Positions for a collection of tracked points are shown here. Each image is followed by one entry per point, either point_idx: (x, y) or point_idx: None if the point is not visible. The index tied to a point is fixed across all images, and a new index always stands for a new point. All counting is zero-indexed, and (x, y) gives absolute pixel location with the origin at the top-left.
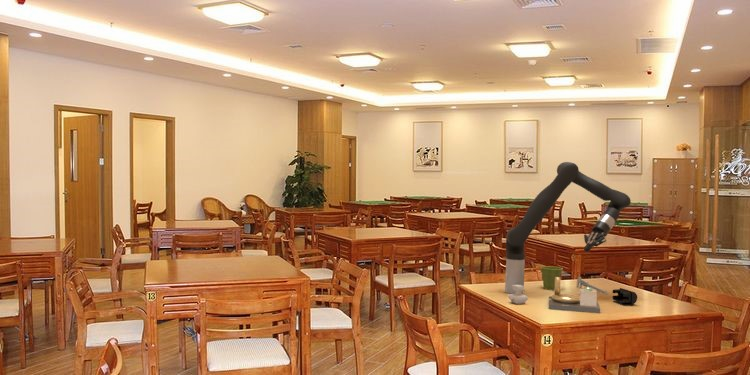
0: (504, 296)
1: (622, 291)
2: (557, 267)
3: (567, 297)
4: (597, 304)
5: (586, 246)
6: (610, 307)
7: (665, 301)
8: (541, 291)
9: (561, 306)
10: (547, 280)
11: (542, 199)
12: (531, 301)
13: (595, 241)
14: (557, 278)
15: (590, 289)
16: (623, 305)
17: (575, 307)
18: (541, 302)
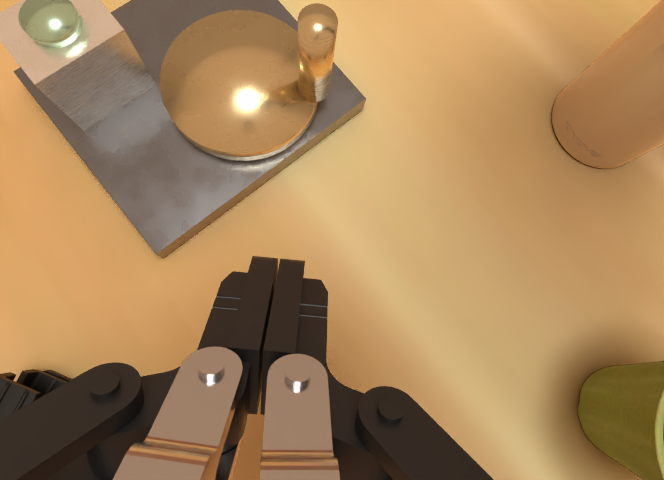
0: (534, 8)
1: None
2: None
3: (220, 60)
4: (81, 147)
5: (277, 294)
6: (68, 253)
7: None
8: (567, 281)
9: None
10: (642, 364)
11: None
12: (389, 24)
13: (66, 419)
14: (306, 8)
15: (25, 8)
16: (46, 371)
17: (121, 9)
18: (349, 46)
